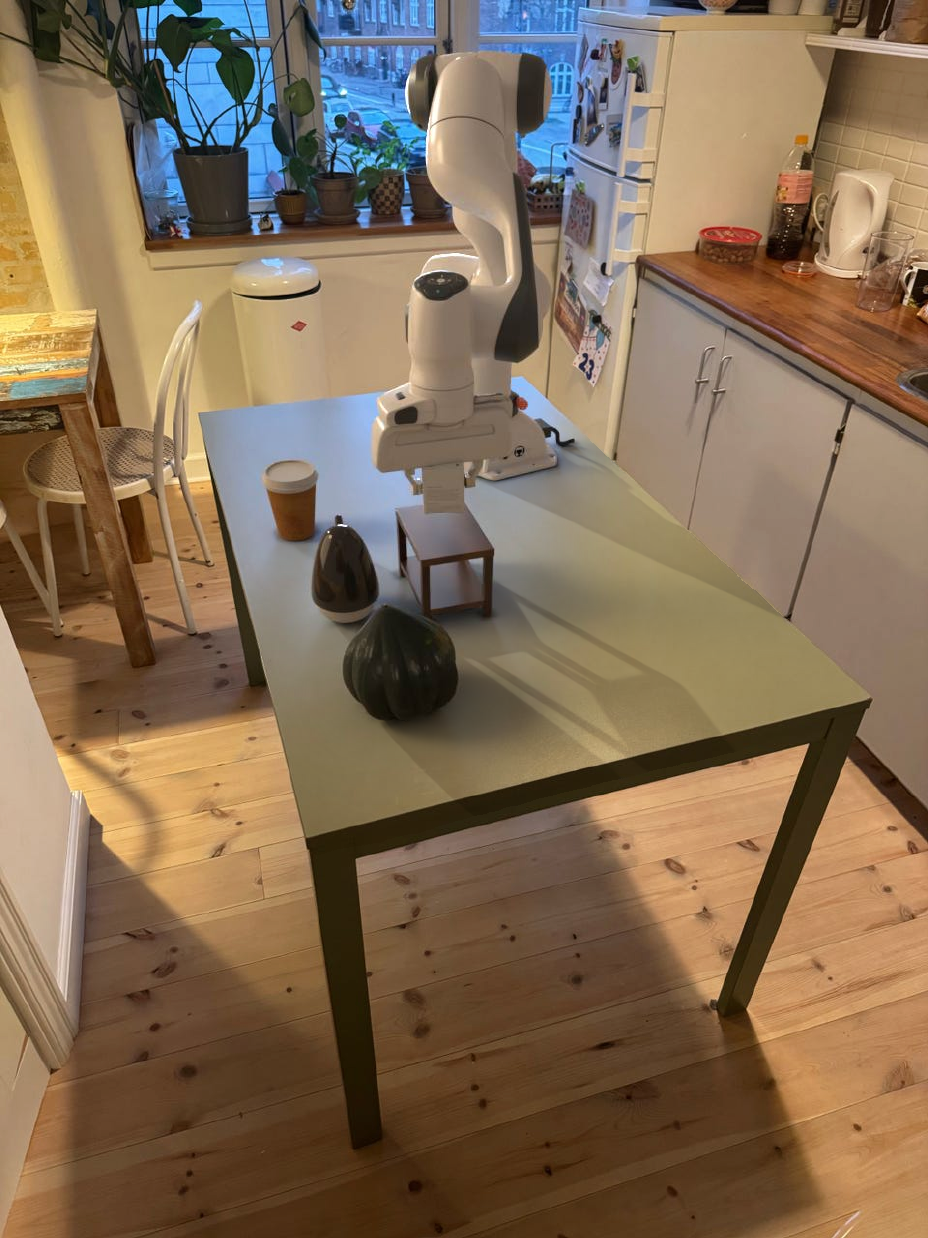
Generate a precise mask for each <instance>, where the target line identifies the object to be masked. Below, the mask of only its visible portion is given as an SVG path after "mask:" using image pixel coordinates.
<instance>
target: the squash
mask: <svg viewBox="0 0 928 1238" xmlns="http://www.w3.org/2000/svg"><path fill="white" fill-rule="evenodd" d="M456 656H457V654H456V647H455V645H454V643H453V639H452V638H451V636H450V635H449V633H448V632H447V630H446V629H445V628H444V627H443V626H442V625H441V624H439V623H438V622H437V621H434V620H433V619H431V620H430V619H428V618H426V617H424V616H422V614H419V613H416V612H413V611H410V610H408V609H404V608H401V607H399V606H396V605H392V604H388V603H383V604H382V605H381V606H380V607H378V608H377V609H376V610H374V612H373V613H372V614H371V616H370V617H369V618H368V620H367V621H366V622H365V623H364V624H363V626H362V627H361V628H360V629H359V631H358V632H357V633H356V634H355V635H354V637H353V638H352V639H351V641H350V642H349V644H348V646H347V647H346V650H345V653H344V656H343V660H342V677H343V682H344V684H345V686H346V688H347V690H348V692H349V693H350V695H351V696H352V697H353V698H354V700H355V701H356V702H358V703H359V704H360V705H362V706H363V708H364V709H365V711H366V712H367V713H368V715H370V717H372V718H374V719H375V720H378V721H379V720H380V721H388V720H392V719H394V718H397V719H398V720H401V721H408V720H410V719H412V717H413V716H414V714H415V713H416V714H419V715H423V714H427V713H429V712H431V711H432V710H437V709H440V708H442V707H444V706H447V704H449V703H450V702H451V701H452V700H453V698H454V697H455V695H456V693H457V690H458V689H457V688H458V683H459V672H458V671H459V670H458V668H457V667H458V666H457V663H456V661H457V660H456V658H457V657H456Z"/></svg>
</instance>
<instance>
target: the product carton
mask: <svg viewBox="0 0 928 1238" xmlns="http://www.w3.org/2000/svg"><path fill="white" fill-rule="evenodd" d="M421 482H422V488H423V489H422V491H423V494H422V505H423V507H424V514H428V513H457V512H464V502H465V486H464V463H463V462H458V463H449V464H442V465H435V466H428V467H422V468H421Z"/></svg>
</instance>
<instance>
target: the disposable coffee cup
mask: <svg viewBox="0 0 928 1238" xmlns="http://www.w3.org/2000/svg"><path fill="white" fill-rule="evenodd" d="M318 480H319V472H318V471H317V469H316V467H315V465H314V464H313V463H312V462H310V461H307V460H305V459H299V458H298V459H297V458H289V459H281V460H277V461H274V462H272V463H269V464H268V465H267V466H265V468H264V469H263V473H262V476H261V483H262V485H263V487H264V488H265V489H266V493H267V497H268V500H269V504H270V507H271V510H272V514H273V515H272V516H273V519H274V522H275V525H276V529H277V532H278V536H279V537H280V538H281V539H282V540H286V541H291V542H297V541H304V540H306V539H308V538H310V537H312V536H313V535H314V534H315V531H316V504H317V503H316V502H317V500H316V498H317V482H318Z"/></svg>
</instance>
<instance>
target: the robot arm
mask: <svg viewBox="0 0 928 1238" xmlns="http://www.w3.org/2000/svg"><path fill="white" fill-rule="evenodd" d="M552 97H553V84H552V79H551V75H550V73H549V71H548V65H547V63H546V61H545V60H544V58H543V57H541V56H539V55H537V54H534V53H529V52H521V53H520V54H519V53H513V52H508V51H507V52H506V51H498V50H478V51H468V52H467V51H465V52H456V53H455V52H454V53H447V54H442V55H439V54H438V53H431V54H427V55H424V56H421V57H419V58H417V59H416V60H415V62H414V63H413V64H412V65H411V66H410V69H409V74H408V78H407V80H406V86H405V101H406V105H407V110H408V113H409V115H410V120H411V122H412V123H413V124H414V125H415V126H416V127H417V129H418V130H419V131H421V132H424V133H427V134H426V135H427V136H426V146H425V147H426V148H425V150H426V151H425V152H426V153H425V161H426V162H425V163H426V173H427V177H428V179H429V182H430V183H431V185H432V187H433V189H434V190H435V191H436V193H437V194H438V195H439V197H441V198H442V199H443V200H444V201H445V202H447V203H448V204H450V205H451V206H452V207H451V209H452V211H451V213H452V220H453V224H454V226H455V228H456V229H457V231H458V232H459V233H460V234H461V235H463V236H464V237H465V238H466V239H467V240H468V241H469V242H470V243H471V245H472V247H473V248H474V250H475V252H476V255H477V256H475V255H474V256H473V255H468V254H461V253H447V254H439V255H438V254H437V255H434V256H431V257H430V258H429V259H428V260H427V261H426V262H425V264H424V266H423V267H422V270H421V272H420V275H419V276H418V277H416V279H414V281H413V283H412V285H411V289H410V296H409V301H408V303H407V305H406V307H405V314H404V316H405V317H404V318H405V323H404V325H405V341H406V344H407V348H408V352H409V355H410V359H411V366H410V371H409V375H408V382H406V383H404V384H403V385H400V386H398V387H396V388H393V389H391V390H388V391H387V392H383V393H382V394H380V395H379V396H377V398H376V408H377V410H378V415H377V416H376V417H374V418H375V419H374V420H373V423H372V427H371V434H370V435H371V436H370V458H371V461H372V464H373V466H374V467H375V469H376V470H377V471H378V472H380V473H382V474H387V473H392V472H402V473H403V475H404V476H405V478H406V479H407V480H408V482H409V491H410V493H411V494H412V496H420V495H423V488H422V480H421V479H420V478H414V477H413V476H414V475H415V474H416V470H417V469H422V467H428V466H435V465H442V464H449V463H458V462H463V463H464V489H470V488H475V487H476V478H477V477H481V478H483V479H486V480H490V481H501V480H503V479H507V478H511V477H516V476H519V475H524V474H528V473H532V472H536V471H540V470H544V469H549V468H553V467H555V466H556V465H557V463H558V457H557V453H556V451H555V449H554V448H553V447H552V446H551V445H550V444H549V443H548V442H547V440H546V439H549V438H552V433H553V434H554V436H555V439H554V440H555V443H556V445H557V446H559V447H565V446H568V445H571V444H574V443H575V442H576V439H575V437H573V438H569V439H567V440H565V441H561V439H560V438H561V435H560V432H559V430H558V429H557V428H555V427H554V426H552V425H551V424H549V423H548V422H546V421H545V420H544V419H543V418H542V417H540V418H532V417H531V416H530V415H528V414H527V413H526V412H524V411H525V410H527V408H528V406H529V402H528V401H527V400H526V399H525V398H524V397H522V396H521V397H520V394H518V393H517V392H515V391H513V389H512V365H513V364H519V363H521V362H523V361H524V360H526V359H528V358H529V357H530V356H531V355H532V354H534V353H535V352H536V351H537V350H538V348H540V343H541V341H542V338H543V334H544V320H545V318H546V316H547V315H548V313H549V311H550V308H551V305H552V299H553V298H552V297H553V296H552V295H553V294H552V292H553V291H552V286H551V283H550V281H549V278H548V277H547V275H546V274H545V272H544V271H543V270H542V269H541V268H540V267H538V265H537V264H536V263H535V260H534V249H533V239H532V228H531V220H530V214H529V206H528V198H527V192H526V188H525V184H524V181H523V179H522V177H521V176H520V175H519V174H518V165H519V163H518V162H519V161H518V142H517V134H518V135H519V137H520V139H521V140H523V139H524V138H526V135H527V134H532V133H533V132H536V131H537V130H539V128H540V127H541V126H542V125H543V124H545V121H546V120H545V119H546V118H547V115H548V113H549V110H550V107H551V104H552Z"/></svg>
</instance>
